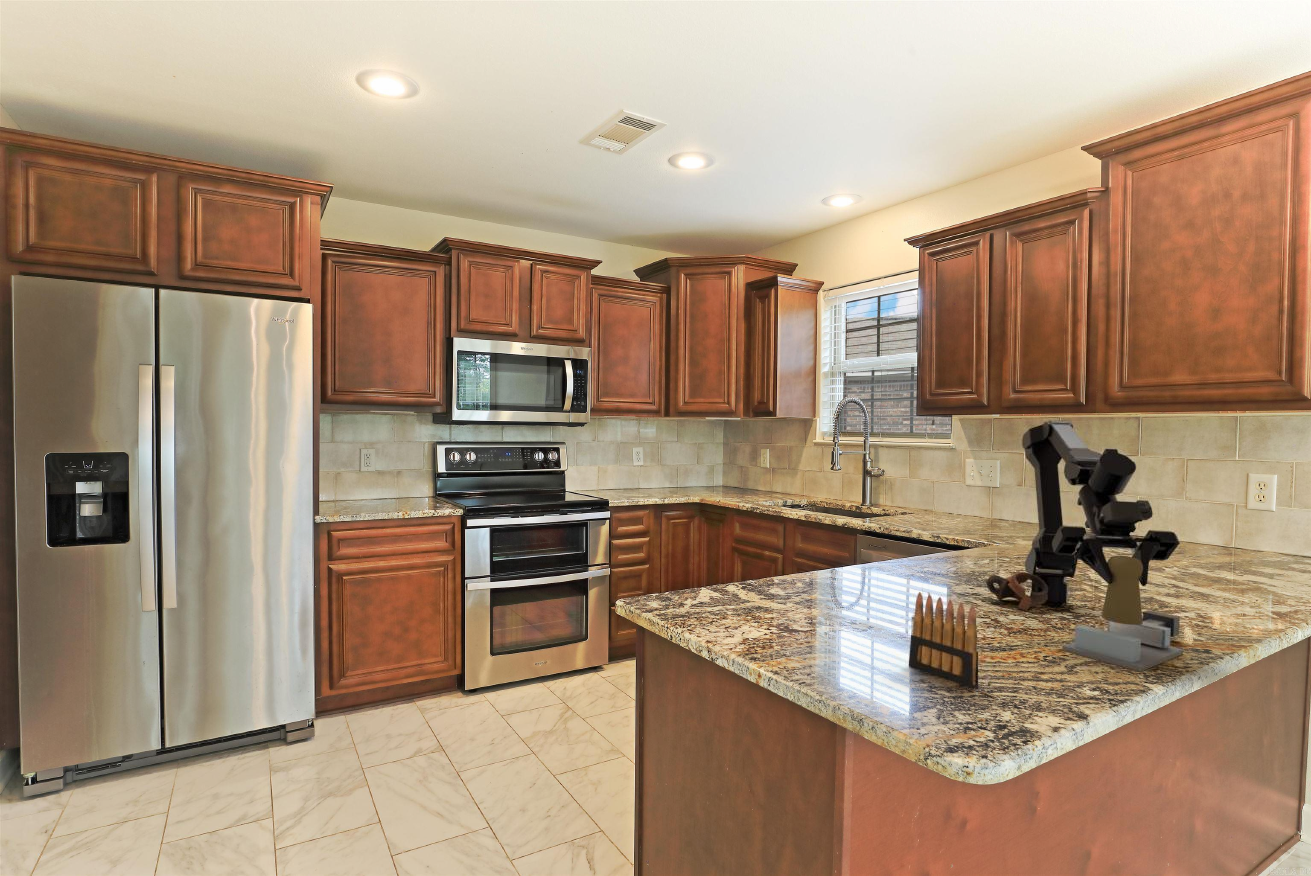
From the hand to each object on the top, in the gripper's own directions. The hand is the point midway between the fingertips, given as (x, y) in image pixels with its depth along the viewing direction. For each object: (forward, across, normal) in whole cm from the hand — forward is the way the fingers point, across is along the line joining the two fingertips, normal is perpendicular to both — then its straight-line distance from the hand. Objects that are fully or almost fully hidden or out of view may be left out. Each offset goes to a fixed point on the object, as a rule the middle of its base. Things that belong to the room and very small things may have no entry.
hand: (1127, 583), depth 120 cm
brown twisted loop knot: (-13, -8, +31) cm, 35 cm away
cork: (+4, 0, +6) cm, 7 cm away
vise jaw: (+2, +8, +14) cm, 16 cm away
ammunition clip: (+22, -34, -5) cm, 40 cm away
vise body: (+6, +3, +12) cm, 13 cm away
